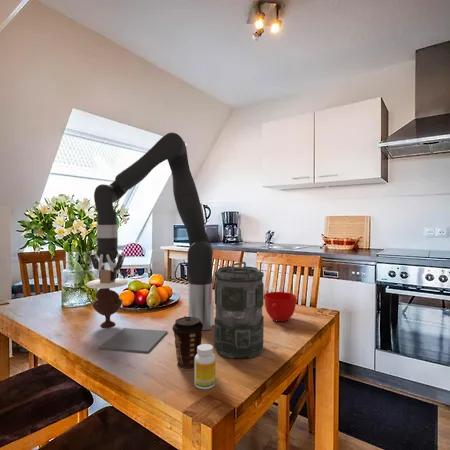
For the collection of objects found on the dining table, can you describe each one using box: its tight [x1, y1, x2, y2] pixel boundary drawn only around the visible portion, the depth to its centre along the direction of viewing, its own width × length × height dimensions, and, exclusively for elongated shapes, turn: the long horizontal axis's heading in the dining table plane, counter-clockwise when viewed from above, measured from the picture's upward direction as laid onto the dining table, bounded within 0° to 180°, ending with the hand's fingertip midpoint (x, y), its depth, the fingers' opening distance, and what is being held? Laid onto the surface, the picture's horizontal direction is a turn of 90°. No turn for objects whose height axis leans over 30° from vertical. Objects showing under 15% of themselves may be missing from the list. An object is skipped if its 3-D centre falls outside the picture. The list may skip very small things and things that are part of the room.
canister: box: [213, 261, 265, 359], centre depth 97 cm, size 16×16×28 cm
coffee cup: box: [171, 315, 203, 371], centre depth 87 cm, size 9×8×13 cm
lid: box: [86, 267, 129, 290], centre depth 118 cm, size 15×15×6 cm
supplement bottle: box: [193, 343, 216, 390], centre depth 77 cm, size 5×5×10 cm
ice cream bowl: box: [91, 288, 124, 329], centre depth 118 cm, size 11×11×15 cm
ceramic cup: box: [263, 291, 297, 322], centre depth 124 cm, size 13×17×10 cm
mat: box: [97, 327, 168, 354], centre depth 104 cm, size 17×17×1 cm
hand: (107, 280), depth 118 cm, fingers closed on lid, 4 cm apart
